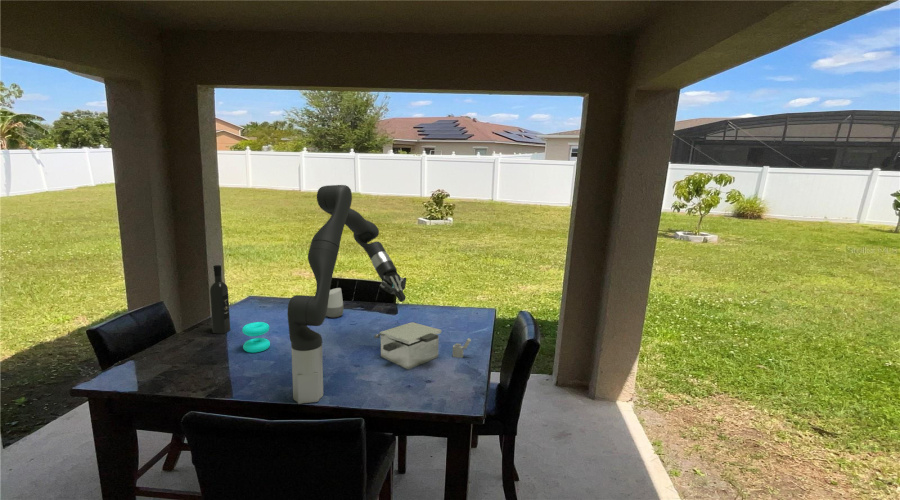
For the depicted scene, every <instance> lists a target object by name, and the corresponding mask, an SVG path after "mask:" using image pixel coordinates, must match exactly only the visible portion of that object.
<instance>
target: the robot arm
mask: <svg viewBox="0 0 900 500" xmlns="http://www.w3.org/2000/svg"><path fill="white" fill-rule="evenodd" d="M352 201H353V195H352V190H351V188H350V187H349V186H348V185H346V184H336V185H335V184H331V185H322V186H321V187H319V188H318V190H317V192H316V202H317V205H318V206H319V208H320V209H321V210H322V211H324V212H325V213H327V214H328V215H330V217H329V218H328V220H327V221H326V222H325V223H324V224H323V225H322V226H321V227H320V228H319V229H318V231H317V232H315V234H314V235H313V237H312V239H311V241H310V246H309V249H308V254H307V260H308V264H309V266H310V269H311V271H312V274H313V275H314V279H315V282H316V289H315V294H314V295H304V294H303V295H302V294H300V295H299V294H298V295H293V296H292V297H291V298H290V299H289V301H288V304H287V305H288V306H287V323H288V333H289V341H290V345H291V370H292V371H291V372H292V377H291V378H292V398H293V400H294V401H295V402H296V403H297V404H298V405H301V404H308V403H316V402H319V401H320V399H321V398H323V396H324V377H323V376H324V373H323V370H324V367H323V365H324V364H323V362H324V361H323V338H322V335H321V334H320V333H318V332H317V331H314V330H313V329H311V328H310V327H320V326H321V325H323V323H324V322H325V319H326V317H327V316H326V313H327V307H328V300H329V293H330V290H331V284H332V280H333V276H334V271H335V267H336V262H337V260H338V256H339V250H340V245H341V240H342V237H343V232H344V227H345V226H346V227H347V228H348V229H349V230H350V231H351V232H352V233H353V235H352V236H353V239H354V240H355V242H356V243H357V244H358V245H359V246H360V247H361V248H362V249H364V251H365V252H366V254H367V255H368V257H369V259H370V261H371V263H372V266H373V268H374V270H375V271H376V272H375V273H377V275H378V277H379V278H380V280H381V283H380V284H379V288H381V289H382V290H384V291H385V292H387V293H388V294H389V295H395V296H396V299H397V301H399V302H400V303H402V302H405V301H406V299H407V298H406V295H405V293H404V292H403V291H404V290H405V289H406V285H407V278H406V277H401V276H400V274H398V272H397V271H398V270H397V268H396V266H395V264H394V262H393V260H392V258H391V257H390V255H389V254H388V253H387V250H386V249H385V248H384V246H383V244H382V243H381V242H380V241H373V240H375V239H376V238H377V237H379V234H380V230H379V228H378V226H377V225H376V224H375V223H373V222H372V221H370V220H367V219H365V218H364V216H362V214H360V213H359V212H358V211H357V210H355V209H353V208H351V206H352V203H353V202H352ZM371 241H373V242H371ZM308 326H309V327H308Z"/></svg>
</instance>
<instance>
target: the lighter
mask: <svg viewBox="0 0 900 500" xmlns="http://www.w3.org/2000/svg"><path fill="white" fill-rule="evenodd" d="M471 341H472V339H471V338H470V337H469V338H467V339H466V341H465V344H464V345H462V343H455V344H453V346H452V357H453V358H458V359H459V358H461V359H464V349H465V350H467V348H468V347H469V344H470V343H471Z"/></svg>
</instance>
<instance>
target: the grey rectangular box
mask: <svg viewBox="0 0 900 500" xmlns="http://www.w3.org/2000/svg"><path fill="white" fill-rule="evenodd" d="M414 323H417V322H414ZM437 335H438V338H437V339H435V340H432V341H429V342H424V341H417V342H414V343H412V344H406V343H403V342H400V341H397V340H394V339H391V338H387V337H384V336H381V335H380V333H377V334H375V335H374V336H373V337H374V339H379V338H380V358H383V359H384V360H387V361H389V362H392V363H393V364H395V365H397V366H399V367H402V368H404V369H405V370H406V369H407V370H411V369H413V368H415V367H417V366H420V365H423V364H426V363H428V362H429V361H432V360H435V359H437V358H439V345H440V344H439V341H440V340H439V337H440V336H439V335H440V334H437Z"/></svg>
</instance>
